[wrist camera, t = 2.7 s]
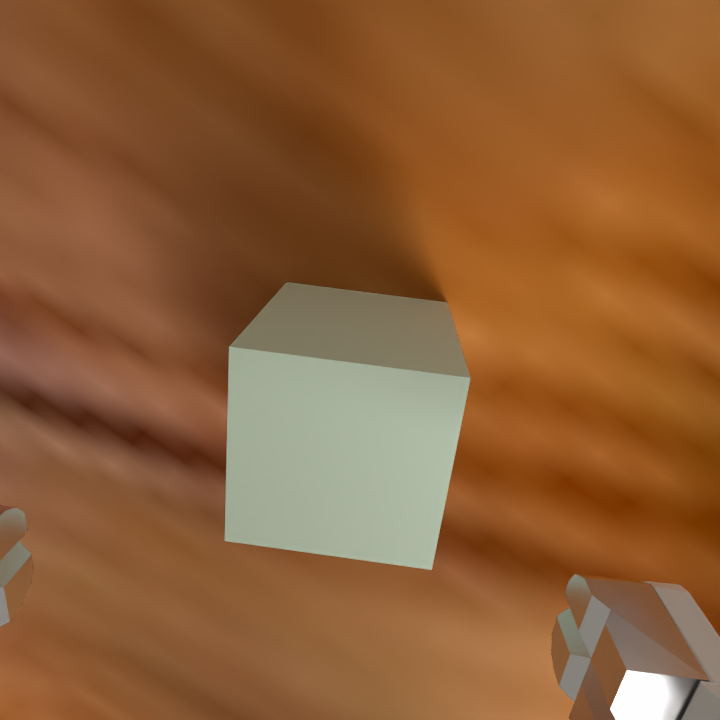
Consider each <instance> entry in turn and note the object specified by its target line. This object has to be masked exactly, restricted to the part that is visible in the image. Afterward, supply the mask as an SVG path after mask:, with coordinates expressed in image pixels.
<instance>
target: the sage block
mask: <svg viewBox="0 0 720 720" xmlns="http://www.w3.org/2000/svg"><path fill="white" fill-rule="evenodd" d="M469 383H470V374H469V371H468V368H467V365H466V361H465V358H464V355H463V352H462V348H461V345H460V342H459V338H458V335H457V332H456V329H455V325H454V322H453V319H452V315H451V312H450V309H449V306H448V302H441V301H433V300H425V299H417V298H409V297H401V296H393V295H386V294H378V293H370V292H362V291H354V290H346V289H338V288H330V287H322V286H314V285H306V284H298V283H290V282H286V283H285V284H284V285H283V287H282V288H281V289H280V290H279V291H278V292H277V293H276V294H275V296H274V297H273V298H272V299H271V300H270V301H269V302H268V303H267V305H266V306H265V307H264V308H263V309H262V310H261V311H260V312H259V314H258V315H257V316H256V317H255V318H254V319H253V320H252V321H251V323H250V324H249V325H248V326H247V327H246V328H245V329H244V330H243V332H242V333H241V334H240V335H239V336H238V337H237V338H236V339H235V341H234V342H233V343H232V344H231V345H230V346H229V371H228V416H227V460H226V505H225V541H228V542H236V543H243V544H250V545H257V546H264V547H271V548H279V549H286V550H293V551H300V552H307V553H314V554H321V555H329V556H336V557H343V558H350V559H357V560H364V561H372V562H379V563H386V564H393V565H400V566H407V567H414V568H422V569H429V570H432V566H433V561H434V556H435V551H436V547H437V542H438V537H439V532H440V527H441V522H442V517H443V512H444V507H445V502H446V497H447V492H448V487H449V482H450V477H451V472H452V467H453V462H454V458H455V453H456V448H457V443H458V438H459V433H460V428H461V423H462V418H463V413H464V408H465V403H466V398H467V393H468V388H469Z"/></svg>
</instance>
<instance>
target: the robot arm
mask: <svg viewBox="0 0 720 720" xmlns="http://www.w3.org/2000/svg"><path fill="white" fill-rule="evenodd" d="M27 531H28V528H27V523H26V518H25V513H24V512H23V511H21V510H19V509H17V508H15V507H9V506H2V505H0V627H1V626H2V625H4V624H6V623H8V622H9V621H10V620H11V619H12V618H13V616H14V615H15V614H16V612H17V611H18V610H19V608H20V607H21V606H22V604H23V602H24V600H25V597H26V595H27V593H28V590H29V588H30V586H31V583H32V575H33V561H32V554H31V553H30V552H29V551H28V550H27V549H26V548H25V546H24V545H23V544H22V543H21V542H20V540H21V538H22V537H23V536H24V535H25V533H26V532H27ZM565 597H566V599H567V602H568V604H569V608H568V609H567V610H565V611H564V612H562V613H561V614H560V615H558V616H557V618H556V621H555V625H554V628H553V632H552V645H551V655H552V661H553V667H554V672H555V675H556V678H557V681H558V685H559V687H560V688H561V689H562V690H563V691H564V692H565V693H566V694H567V695H568V696H569V697H570V698H571V699H572V700H573V701H574V705H573V708H572V710H571V713H570V716H569V719H570V720H720V637H719V636H718V634H717V633H716V631H715V630H714V628H713V627H712V625H711V624H710V622H709V621H708V619H707V618H706V617H705V615H704V614H703V612H702V611H701V609H700V608H699V606H698V605H697V603H696V602H695V600H694V599H693V597H692V596H691V595H690V593H689V592H688V591H687V590H686V589H685V588H683V587H682V586H680V585H679V584H670V583H660V582H650V581H643V582H641V581H635V580H626V579H617V578H608V577H599V576H590V575H581V574H575V575H574V576H573V577H572V578H571V579H570V580H569V583H568V585H567V588H566V591H565Z"/></svg>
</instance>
